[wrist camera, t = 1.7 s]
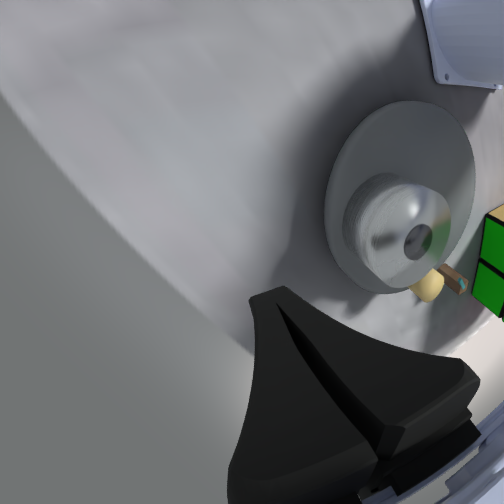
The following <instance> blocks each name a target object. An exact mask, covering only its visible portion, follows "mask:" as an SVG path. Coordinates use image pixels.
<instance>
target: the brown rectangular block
mask: <svg viewBox="0 0 504 504" xmlns="http://www.w3.org/2000/svg"><path fill="white" fill-rule="evenodd" d="M437 272H438V273H440V274H441V275H442V276H443V277H444V283H445V284H446V285H447V286H448V287H450V288H451V289H452V290H453V291H455V292H456V293H457V294H458V295H460V294H462V293H463V292H465V291H466V289H467V285H468V280H467V279H466V278H464V277H463V276H462V275H460V274H459V273H458V272H456V271H455V270H454V269H452V268H451V267H450V266H448V265H447V264H443V265H441V266H440V267H439V268H438V269H437Z"/></svg>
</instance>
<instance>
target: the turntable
mask: <svg viewBox="0 0 504 504" xmlns="http://www.w3.org/2000/svg"><path fill="white" fill-rule="evenodd" d="M379 173H394V174H397V175H399V176H402V177H404V178H406V179H409V180H411V181H413V182H416V183H418V184H420V185H422V186H425V187H427V188H429V189H431V190H433V191H436V192H438V193H439V194H441V195H442V196H443V197H444V198H445V200H446V202H447V204H448V206H449V209H450V214H451V228H450V234H449V238H448V241H447V244H446V247H445V249H444V251H443V253H442V255H441V257H440V259H439V260H438V262H437V263H436V265H435V266H434V267H433V268H432V270H431V271H430V272H429V273H428V274H427V275H426V276H425V277H423V278H422V279H421V280H419V281H418V282H416V283H414V284H413V285H410V286H407V287H404V288H394V287H390V286H388V285H386V284H385V283H384V282H383V281H382V280H381V279H380V278H379V277H377V276H376V275H375V274H374V273H373V272H372V271H371V270H370V269H369V268H368V267H366V266H365V265H364V264H363V263H362V262H361V261H360V260H359V259H358V258H356V257H355V256H354V255H353V254H352V253H351V252H350V251H349V250H348V248H347V246H346V244H345V242H344V239H343V234H342V222H343V216H344V212H345V209H346V206H347V204H348V201H349V199H350V198H351V196H352V194H353V193H354V192H355V190H356V189H357V188H358V187H359V186H360V185H361V184H362V183H363V182H364V181H365V180H367V179H368V178H370V177H372V176H374V175H376V174H379ZM475 182H476V173H475V162H474V156H473V152H472V148H471V145H470V142H469V140H468V137H467V135H466V133H465V131H464V129H463V128H462V126H461V125H460V124H459V122H458V121H457V120H456V119H455V118H454V117H453V116H452V115H451V114H450V113H449V112H447V111H446V110H445V109H443V108H441V107H439V106H437V105H434V104H431V103H427V102H419V101H406V100H405V101H398V102H393V103H390V104H387V105H385V106H383V107H381V108H379V109H377V110H375V111H374V112H372V113H371V114H370V115H369V116H367V117H366V118H365V119H364V120H363V121H362V122H361V123H360V124H359V125H358V126H357V127H356V128H355V129H354V130H353V132H352V133H351V134H350V136H349V137H348V138H347V140H346V141H345V143H344V145H343V147H342V148H341V150H340V152H339V154H338V156H337V159H336V161H335V163H334V165H333V168H332V171H331V174H330V178H329V181H328V185H327V190H326V196H325V205H324V226H325V233H326V239H327V242H328V245H329V249H330V251H331V253H332V256H333V258H334V260H335V261H336V263H337V264H338V266H339V267H340V268H341V269H342V270H343V271H344V272H345V274H346V275H347V276H348V277H349V278H350V279H351V280H352V281H353V282H354V283H355V284H357V285H358V286H360V287H361V288H362V289H365V290H367V291H369V292H373V293H377V294H392V293H398V292H401V291H405V290H407V289H410V290H411V291H413V292H414V293H415V294H416V295H417V296H418V297H419V298H420V299H421V300H423V301H424V302H430V301H432V300H433V299H435V298H436V297H437V295H438V294H439V293H440V291H441V289H442V287H443V284H444V277H443V276H442V275H441V274H440V273H438V272H437V271H436V270H437V269H438V268H439V267H440V266H441V265H442V264H443V263H444V262H445V260H446V259H447V258H448V257H449V255H450V254H451V253H452V251H453V250H454V248H455V247H456V245H457V243H458V241H459V240H460V238H461V236H462V234H463V232H464V229H465V227H466V225H467V222H468V219H469V216H470V213H471V209H472V205H473V200H474V194H475Z"/></svg>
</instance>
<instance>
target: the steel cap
mask: <svg viewBox="0 0 504 504" xmlns="http://www.w3.org/2000/svg"><path fill="white" fill-rule="evenodd" d="M450 228H451V214H450V209H449V206H448V204H447V202H446V200H445V198H444V197H443V196H442V195H441V194H439V193H438V192H436V191H433V190H431V189H429V188H427V187H425V186H422V185H420V184H418V183H416V182H413V181H411V180H409V179H406V178H404V177H402V176H399V175H397V174H394V173H379V174H376V175H374V176H372V177H370V178H368V179H367V180H365V181H364V182H363V183H362V184H361V185H360V186H359V187H358V188H357V189H356V190H355V192H354V193H353V194H352V196H351V198H350V199H349V201H348V204H347V206H346V209H345V212H344V216H343V222H342V234H343V239H344V242H345V244H346V246H347V248H348V250H349V251H350V252H351V253H352V254H353V255H354V256H355V257H356V258H358V259H359V260H360V261H361V262H362V263H363V264H364V265H365V266H366V267H368V268H369V269H370V270H371V271H372V272H373V273H374V274H375V275H376V276H377V277H379V278H380V279H381V280H382V281H383V282H384V283H385V284H386V285H388V286H390V287H394V288H404V287H407V286H410V285H413V284H414V283H416V282H418V281H419V280H421V279H422V278H423V277H425V276H426V275H427V274H428V273H429V272H430V271H431V270H432V268H433V267H434V266H435V265H436V263H437V262H438V260H439V259H440V257H441V255H442V253H443V251H444V249H445V247H446V244H447V241H448V238H449V234H450Z"/></svg>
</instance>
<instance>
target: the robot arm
mask: <svg viewBox="0 0 504 504" xmlns="http://www.w3.org/2000/svg"><path fill="white" fill-rule="evenodd" d="M420 4H421V8H422V12H423V16H424V21H425V25H426V30H427V35H428V40H429V46H430V52H431V58H432V65H433V72H434V78H435V80H436V82H437V83H439V84H451V85H464V86H474V87H483V88H491V89H498V90H501V89H502V85H503V86H504V0H420ZM249 304H250V308H251V311H252V315H253V319H254V330H255V359H254V371H253V380H252V387H251V392H250V398H249V403H248V408H247V412H246V416H245V420H244V423H243V427H242V430H241V434H240V437H239V440H238V443H237V446H236V449H235V452H234V454H233V457H232V460H231V462H230V465H229V468H228V481H227V498H228V504H398V503H400V502H401V501H403V500H405V499H406V498H408V497H410V496H412V495H413V494H415V493H416V492H418V491H419V490H421V489H423V488H424V487H426V486H427V485H429V484H430V483H432V482H433V481H434V480H436V479H437V478H439V477H440V476H442V475H443V474H444V473H446V472H447V471H448V470H450V469H451V468H452V467H454V466H455V465H456V464H458V463H459V462H460V461H461V460H463V459H464V458H465V457H466V456H468V455H469V454H470V453H471V452H472V451H473V450H475V449H476V448H477V447H478V446H479V445H480V446H479V453H478V454H477V455H475V456H474V457H473V458H472V459H471V460H470V461H469V462H467V463H466V464H465V465H464V466H463V467H462V468H461V469H460V470H458V471H457V472H456V473H455V474H454V475H452V476H451V477H450V478H449V479H447V480H446V481H445V484H446V486H447V488H448V489H449V493H447V494H446V495H445V496H443V497H442V498H440V499H439V500H438V501H436V502H435V503H433V504H504V401H503V402H502V403H501V404H500V405H499V406H498V407H497V408H495V410H493V411H492V412H491V413H490V414H489V415H488V416H487V417H486V418H485V419H484V420H482V421H481V422H480V423H479V424H478V425H477V426H475V425H474V424H473V423H472V421H471V420H470V418H471V417H472V413H471V412H470V411H469V410H468V408H467V406H468V405H469V403H470V402H471V400H472V398H473V397H474V395H475V394H476V392H477V390H478V388H479V386H480V378H479V377H478V376H477V375H476V374H475V372H474V371H473V370H472V369H471V368H470V367H469V366H468V365H467V364H466V363H465V362H464V361H463V360H461V359H460V358H451V357H444V356H436V355H430V354H425V353H420V352H416V351H411V350H408V349H404V348H401V347H397V346H394V345H391V344H388V343H385V342H382V341H379V340H376V339H374V338H371V337H369V336H367V335H364V334H362V333H360V332H357V331H355V330H353V329H351V328H349V327H347V326H345V325H344V324H342V323H340V322H338V321H336V320H334V319H333V318H331V317H329V316H328V315H326V314H324V313H323V312H321V311H320V310H318V309H317V308H315V307H313V306H312V305H310V304H309V303H308V302H306V301H305V300H303V299H302V298H300V297H299V296H298V295H296V294H295V293H294V292H292V291H291V290H290V289H289V288H287V287H285V286H281V287H278V288H275V289H272V290H270V291H267V292H264V293H261V294H258V295H255V296H252V297H251V298H250V299H249ZM358 495H359V496H358ZM359 497H360V498H359ZM360 499H361V500H360Z"/></svg>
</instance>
